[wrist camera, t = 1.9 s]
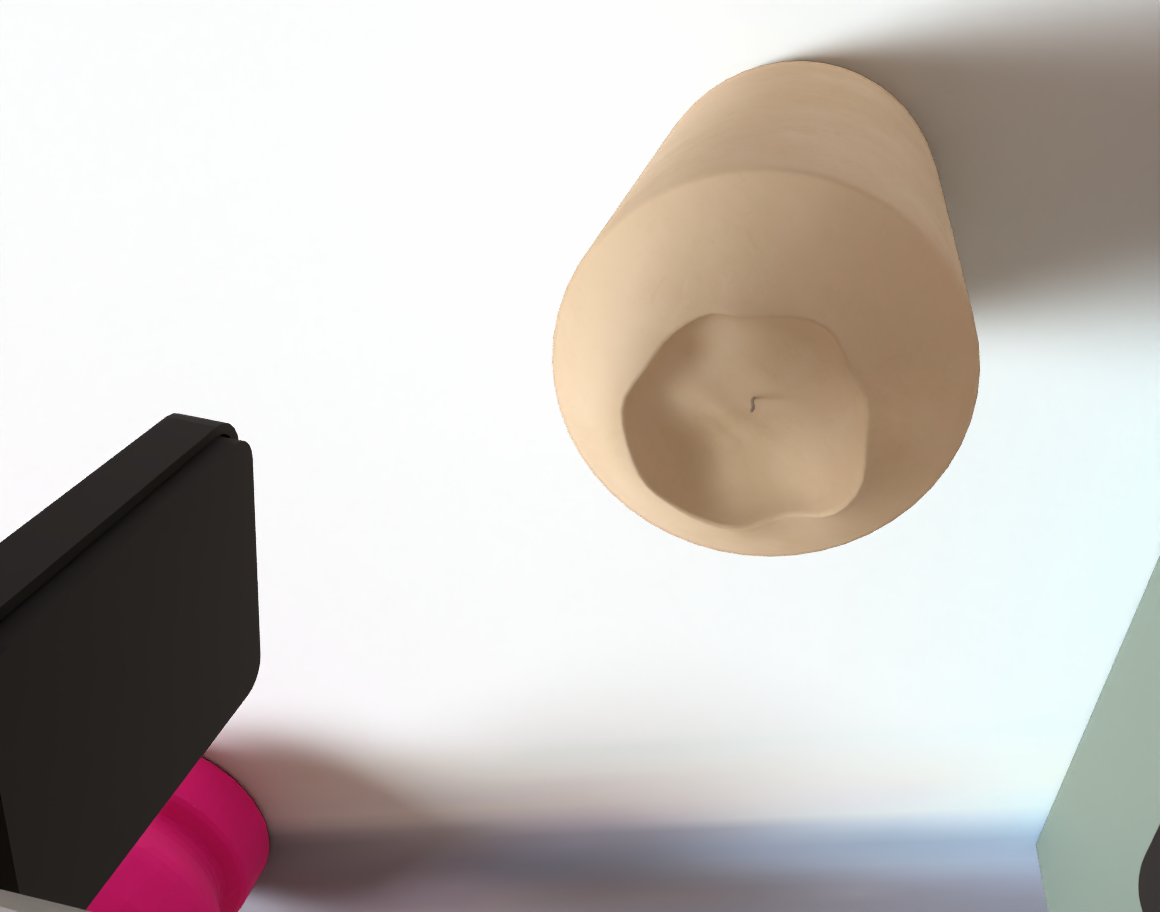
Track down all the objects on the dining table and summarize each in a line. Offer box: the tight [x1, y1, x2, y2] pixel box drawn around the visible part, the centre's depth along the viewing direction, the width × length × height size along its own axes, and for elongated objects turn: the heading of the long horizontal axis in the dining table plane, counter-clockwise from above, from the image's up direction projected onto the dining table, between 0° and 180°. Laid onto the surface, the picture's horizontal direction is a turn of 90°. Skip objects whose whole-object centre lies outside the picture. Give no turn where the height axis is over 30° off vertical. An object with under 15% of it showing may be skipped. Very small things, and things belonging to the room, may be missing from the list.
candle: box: [552, 61, 980, 556], centre depth 17 cm, size 6×6×10 cm
